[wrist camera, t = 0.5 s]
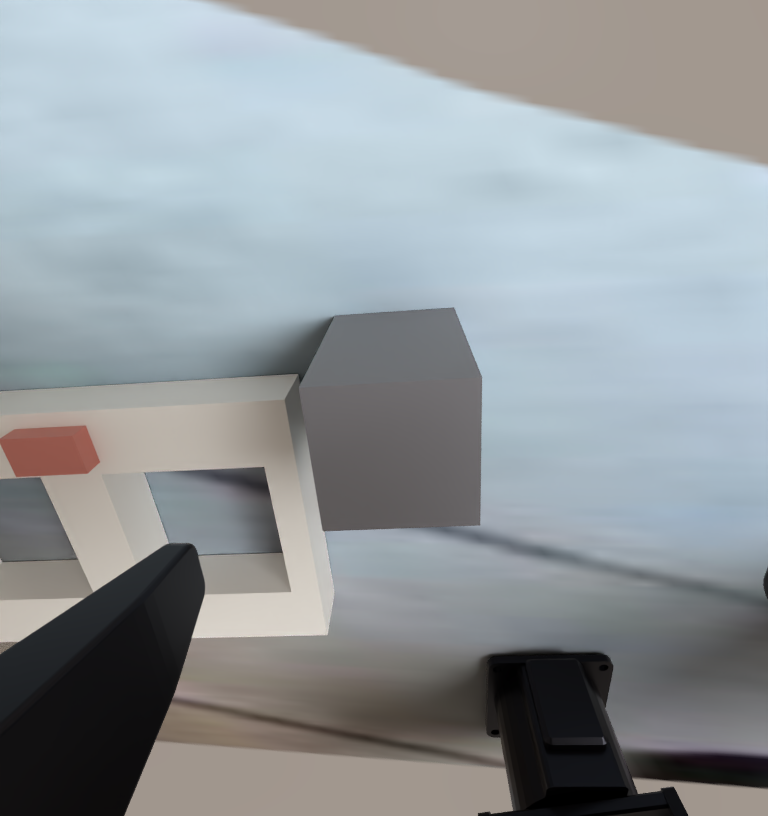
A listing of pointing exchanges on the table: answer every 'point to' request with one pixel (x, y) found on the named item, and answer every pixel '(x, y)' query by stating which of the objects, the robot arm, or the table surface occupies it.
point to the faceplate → (134, 505)
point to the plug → (394, 422)
